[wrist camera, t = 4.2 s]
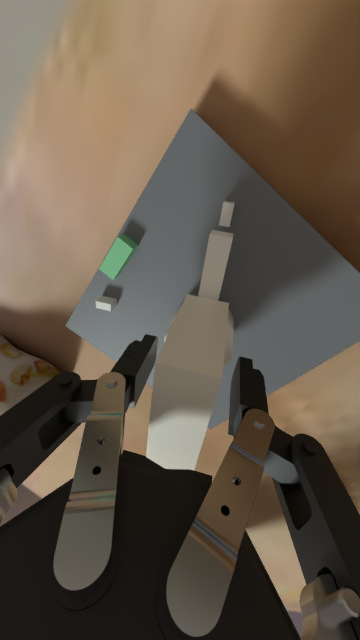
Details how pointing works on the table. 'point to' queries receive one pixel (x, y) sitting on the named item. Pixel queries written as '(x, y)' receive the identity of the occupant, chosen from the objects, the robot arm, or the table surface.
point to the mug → (20, 374)
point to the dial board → (240, 275)
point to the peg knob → (191, 366)
